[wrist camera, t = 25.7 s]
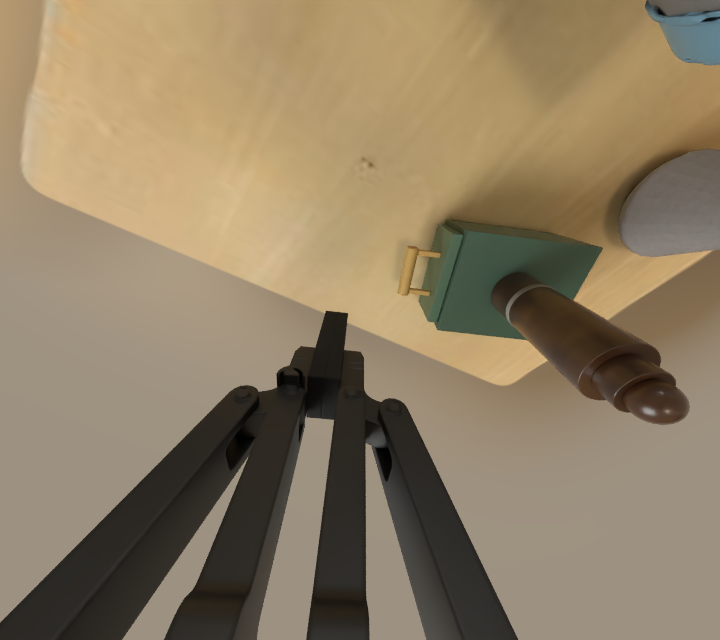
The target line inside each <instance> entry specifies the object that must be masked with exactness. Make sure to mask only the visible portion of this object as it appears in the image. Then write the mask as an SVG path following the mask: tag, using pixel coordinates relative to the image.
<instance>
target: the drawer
mask: <svg viewBox="0 0 720 640" xmlns="http://www.w3.org/2000/svg"><path fill="white" fill-rule="evenodd" d="M463 238H464V237H463V234H461V233H459V232H458V231H456V230H454V229H452V228H451V227H449V226H447V225H440V224H438V227H437V231H436V235H435V239H434V242H433V246H432V250H431V251H428V250H420V249H419V248H417V247H414V246H407V249H406V254H405V259H404V264H403V269H402V274H401V278H400V283H399V288H398V294H400V295H403V296H406V295H408V293H409V294H417V295H420V297H419V303H420V305H421V307H422V309H423V312H424V314H425V316H426V318H427V320H428V321H429V322H437V320H438V317H439V314H440V311H441V307H443V303H444V300H445V297H446V294H447V290H448V287H449V284H450V281H451V277H452V274H453V271H454V268H455V264H456V261H457V258H458V255H459V251H460V248H461V245H462V242H463ZM417 255H420V256H428V257H430V258H429V262H428V266H427V270H426V274H425V278H424V282H423V286H422V289H414V288H410V285H411V280H412V276H413V272H414V267H415V263H416V259H417Z"/></svg>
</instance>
